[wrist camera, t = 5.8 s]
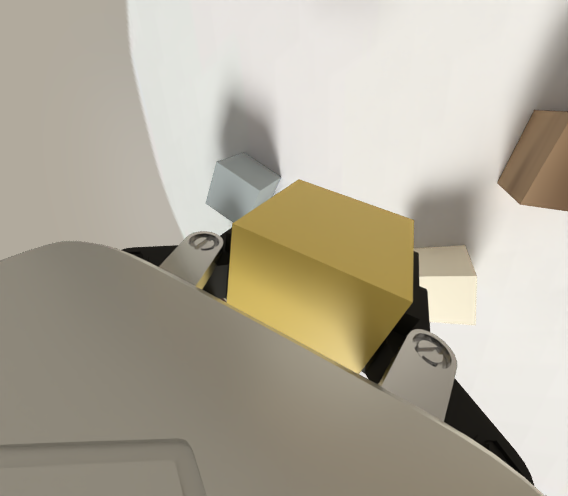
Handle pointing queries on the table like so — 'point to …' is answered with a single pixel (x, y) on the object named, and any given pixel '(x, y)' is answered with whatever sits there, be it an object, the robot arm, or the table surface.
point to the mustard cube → (323, 270)
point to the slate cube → (240, 186)
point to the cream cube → (448, 284)
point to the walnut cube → (540, 163)
